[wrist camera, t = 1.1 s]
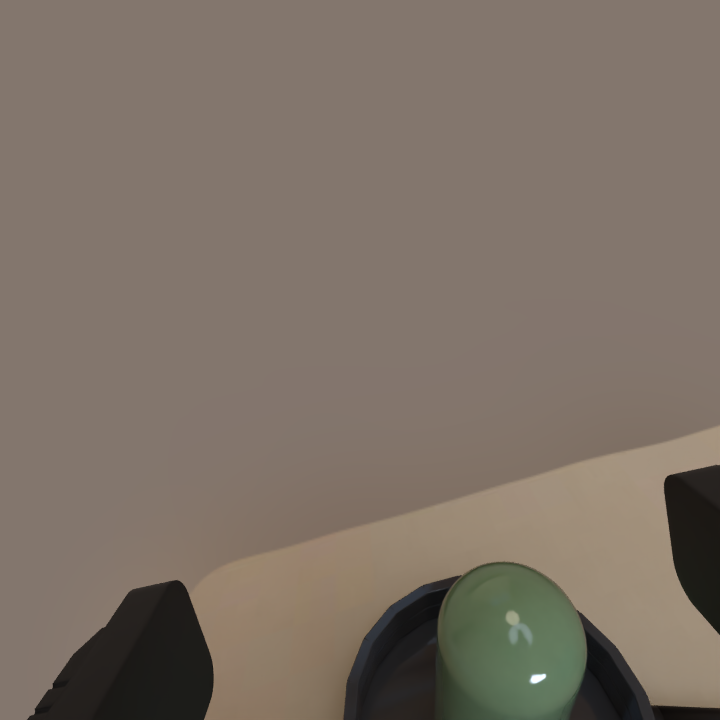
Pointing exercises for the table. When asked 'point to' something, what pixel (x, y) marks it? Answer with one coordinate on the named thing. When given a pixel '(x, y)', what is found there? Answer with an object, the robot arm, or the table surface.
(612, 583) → the table surface
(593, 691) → the steel pan
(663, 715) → the pan handle
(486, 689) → the green capsule
